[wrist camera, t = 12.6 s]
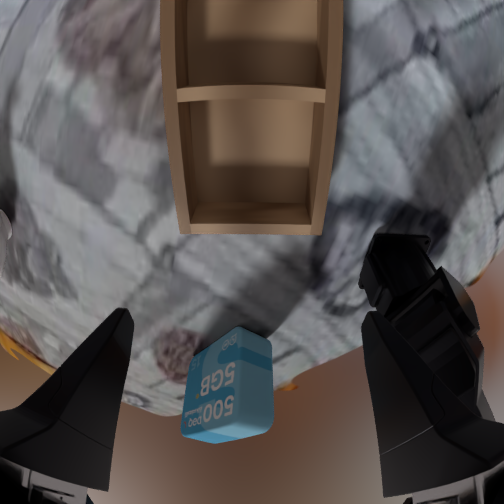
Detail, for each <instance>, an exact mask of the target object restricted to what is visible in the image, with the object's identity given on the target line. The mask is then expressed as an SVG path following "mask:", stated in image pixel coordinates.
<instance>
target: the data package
mask: <svg viewBox="0 0 504 504" xmlns="http://www.w3.org/2000/svg"><path fill="white" fill-rule="evenodd" d="M273 420H274V398H273V367H272V345H271V342H270V341H269V340H268V339H265V338H263V337H261V336H259V335H257V334H255V333H253V332H251V331H248V330H246V329H244V328H242V327H235V328H234V329H232V330H231V331H229V332H228V333H227V334H225V335H224V336H222V337H221V338H220V339H218V340H217V341H215V342H214V343H213V344H211V345H210V346H208V347H207V348H205V349H204V350H203V351H201V352H200V353H198V354H197V355H195V356H194V358H193V359H192V361H191V363H190V366H189V371H188V378H187V384H186V391H185V398H184V406H183V413H182V421H181V433H182V435H183V436H185V437H188V438H192V439H196V440H201V441H205V442H210V443H221V442H226V441H230V440H236V439H240V438H245V437H249V436H254V435H258V434H262V433H265V432H266V431H268V430H269V429H270V427H271V426H272V424H273Z"/></svg>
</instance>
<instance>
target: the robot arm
mask: <svg viewBox="0 0 504 504" xmlns="http://www.w3.org/2000/svg"><path fill="white" fill-rule="evenodd" d="M377 239H379V240H377ZM426 240H427V241H426ZM425 241H426V242H425ZM430 242H431V239H430V238H429V237H428V236H424V235H401V234H376V235H374V237H373V239H372V242H371V246H370V249H369V252H368V254H367V256H366V257H365V260H364V264H363V267H362V270H361V273H360V279H359V282H358V285H359V288H360V289H365V292H366V294H367V297H368V300H369V303H370V305H371V306H372V307H376V310H377V311H369V312H368V313H367V314H366V317H365V319H364V321H363V323H362V326H361V332H362V341H363V350H364V360H365V367H366V373H367V378H368V383H369V388H370V394H371V399H372V405H373V411H374V416H375V424H376V431H377V438H378V446H379V454H380V464H381V474H382V485H383V496H384V498H385V497H392V496H399V495H405V494H410V493H412V497H409V498H407V499H406V500H405V502H404V503H403V504H504V424H502V423H499V422H496V421H495V418H494V416H493V413H492V411H491V409H490V406H489V404H488V402H487V400H486V397H485V395H484V393H483V390H482V380H483V367H484V347H483V345H482V343H481V341H480V339H479V337H478V335H477V332H478V331H479V330H480V326H479V322H478V318H477V314H476V310H475V306H474V303H473V301H472V300H471V298H470V297H469V295H468V294H467V292H466V290H465V289H464V287H463V286H462V285H461V284H460V283H459V282H458V281H457V280H456V279H455V278H454V277H453V276H452V275H451V274H450V273H448V272H447V271H446V270H445V269H444V268H443V267H442V266H441V267H440V268H439V269H437V270H436V268H435V267H434V265H433V263H432V262H431V260H430V259H429V257H428V256H427V254H426V252H427V250H428V247H429V245H430ZM133 332H134V321H133V319H132V317H131V315H130V312H129V310H128V309H127V308H117V309H115V310H114V311H113V312H112V313H111V314H110V315H109V316H108V317H107V318H106V319H105V320H104V321H103V322H102V323H101V324H100V325H99V326H98V327H97V328H96V329H95V330H94V331H93V332H92V333H91V334H90V335H89V336H88V337H87V338H86V340H85V341H84V342H83V343H82V344H81V345H80V346H79V347H78V348H77V349H76V350H75V351H74V352H73V353H72V354H71V355H70V356H69V357H68V358H67V359H66V361H65V362H64V363H63V364H62V365H61V367H59V368H58V369H57V370H56V371H55V372H54V373H53V374H52V375H51V377H50V378H49V379H48V380H47V381H46V382H45V383H44V384H43V385H42V386H41V387H39V388H38V389H37V390H36V391H35V392H34V393H33V394H32V395H31V396H30V397H29V398H27V399H26V400H25V401H24V402H23V403H22V404H21V405H19V406H18V407H16V408H13V409H10V410H6V411H0V504H94V503H93V502H92V501H91V499H90V497H89V496H88V494H87V488H92V489H97V490H102V491H107V492H108V489H109V480H110V470H111V461H112V454H113V446H114V439H115V432H116V426H117V420H118V415H119V409H120V404H121V399H122V394H123V389H124V384H125V380H126V375H127V371H128V366H129V361H130V355H131V347H132V339H133Z"/></svg>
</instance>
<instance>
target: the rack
mask: <svg viewBox="0 0 504 504" xmlns="http://www.w3.org/2000/svg"><path fill="white" fill-rule="evenodd" d="M160 42H161V69H162V86H163V101H164V113H165V124H166V134H167V144H168V153H169V161H170V169H171V177H172V184H173V191H174V198H175V205H176V211H177V218H178V224H179V230H180V234H285V235H322V229H323V223H324V217H325V211H326V205H327V198H328V192H329V185H330V178H331V170H332V163H333V155H334V146H335V138H336V129H337V119H338V108H339V96H340V83H341V67H342V46H343V0H160Z"/></svg>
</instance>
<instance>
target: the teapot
mask: <svg viewBox="0 0 504 504" xmlns="http://www.w3.org/2000/svg"><path fill="white" fill-rule="evenodd" d="M11 236H12V227H11V223H10V221H9V219H8V217H7V216H6V214H5V213H4V212H3V211H2V210H1V209H0V278H1V276H2V273H3V270H4V267H5V262H6V254H7V241H8V240H9V239H10V238H11Z"/></svg>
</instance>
